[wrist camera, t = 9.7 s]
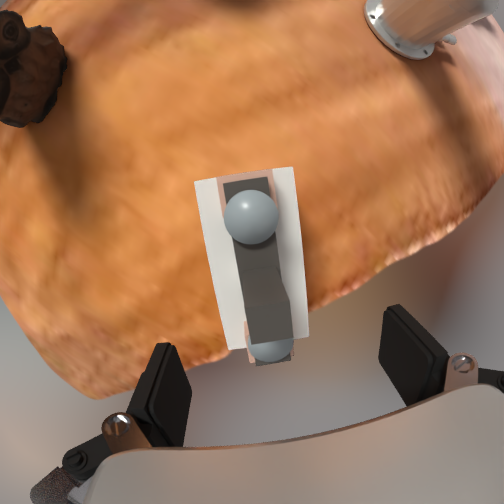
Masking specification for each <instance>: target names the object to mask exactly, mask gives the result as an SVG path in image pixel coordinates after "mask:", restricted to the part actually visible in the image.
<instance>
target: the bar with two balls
mask: <svg viewBox="0 0 504 504" xmlns="http://www.w3.org/2000/svg"><path fill="white" fill-rule="evenodd" d="M223 188H224V194H225V200H226V208H225V211H224V224H225V227H226V229H227V231H228V233H229V234H230V235H231V236H232V240H233V246H234V252H235V257H236V263H237V268H238V274H239V279H240V285H241V290H242V295H243V301H244V309H245V314H246V319H247V325H248V330H249V336H248V349H249V352H250V353H251V355H252V356H253V357H254V358H255V363H256V366H260V365H267V364H272V363H279V362H284V361H290V360H291V356H290V351H291V350H292V348H293V342H294V341H293V338H294V336H293V326H292V316H291V307H290V300H289V297H288V295H287V292H286V290H285V287H284V285H283V283H282V278H281V270H280V262H279V254H278V247H277V239H276V232H275V230H276V228H277V225H278V220H279V214H278V209H277V207H276V205H275V203H274V201H273V200H272V199H271V197H270V190H269V184H268V177H267V176H265V177H258V178H252V179H245V180H239V181H233V182H227V183H223Z"/></svg>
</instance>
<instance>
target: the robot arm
mask: <svg viewBox="0 0 504 504" xmlns="http://www.w3.org/2000/svg"><path fill="white" fill-rule="evenodd" d="M498 3H499V0H367V1H366V3H365V5H364V15H365V18H366V21H367V23H368V25H369V27H370V28H371V29H372V31H373V32H374V34H375V35H376V36H377V37H378V38H379V39H380V40H381V41H382V42H383V43H384V44H385V45H386V46H388V47H389V48H390V49H391V50H393V51H395V52H396V53H398V54H400V55H402V56H404V57H406V58H409V59H414V60H421V59H424V58H427V57H428V56H430V55H431V54H432V53H433V50H434V46H435V42H437V41H439V42H442V41H444V42H446V43H449V44H451V45H455V44H456V37H455V36H453V35H451V34H450V33H452V32H454V31H456V30H458V29H460V28H462V27H465V26H467V25H469V24H471V23H473V22H475V21H478V20H480V19H482V18H485V17H487V16H489V15H491V14H493V13H494V12H495V11H496V9H497V7H498ZM447 353H448V352H447V351H446V350H445V349H444V348H443V347H442V346H441V345H440V344H439V343H438V342H437V341H436V340H435V338H434V337H433V336H432V335H431V334H430V333H429V332H427V330H426V329H425V328H423V326H422V325H420V323H419V322H418V321H417V320H415V318H413V316H412V315H410V314H409V313H408V312H407V311H406V310H405V309H404V308H403V307H402V306H401V305H400V304H396V305H393V306H389V307H387V310H386V311H384V315H383V324H382V334H381V341H380V349H379V356H378V358H379V362H380V364H381V366H382V367H383V369H384V370H385V372H386V374H387V375H388V376H389V378H390V380H391V382H392V383H393V385H394V386H395V388H396V389H397V391H398V393H399V394H400V396H401V398H402V399H403V401H404V402H405V404H406V406H407V407H405V408H402V409H399V410H397V411H394V412H391V413H388V414H386V415H383V416H380V417H377V418H374V419H370V420H367V421H364V422H360V423H357V424H354V425H350V426H346V427H342V428H338V429H335V430H330V431H326V432H322V433H318V434H313V435H307V436H302V437H297V438H291V439H285V440H278V441H272V442H263V443H254V444H244V445H231V446H211V447H183V443H184V436H185V431H186V425H187V419H188V414H189V407H190V402H191V397H192V390H191V386H190V384H189V381H188V379H187V376H186V374H185V371H184V368H183V366H182V363H181V361H180V358H179V355H178V352H177V350H176V347H175V346H174V345H171V344H170V343H169V342H167V343H157V344H156V346H155V348H154V351H153V353H152V355H151V358H150V360H149V363H148V365H147V367H146V370H145V372H143V373H142V374H141V377H140V379H139V381H138V384H137V386H136V389H135V391H134V393H133V396H132V398H131V401H130V404H129V406H128V408H127V411H126V413H123V412H119V413H114V414H112V415H110V416H108V417H107V418H106V419H105V420H104V422H103V424H102V434H100V435H99V436H97V437H94V438H93V439H91V440H89V441H87V442H85V443H83V444H81V445H79V446H77V447H75V448H73V449H71V450H69V451H67V453H66V454H65V455H64V457H63V460H62V465H63V466H62V467H61V468H59V467H56V468H55V469H54V470H53V471H51V472H50V473H49V474H48V475H47V476H46V477H44V478H43V479H42V480H41V481H40V482H39V483H37V484H36V485H35V486H34V487H33V488H32V489H31V492H30V498H31V501H32V502H33V503H34V504H504V371H496V370H490V369H482V368H478V363H477V361H476V359H475V358H474V357H473V356H472V355H469V354H467V353H456V354H454V355H452V356H451V357H450V356H449V355H448V354H447Z"/></svg>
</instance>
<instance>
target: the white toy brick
mask: <svg viewBox="0 0 504 504" xmlns="http://www.w3.org/2000/svg"><path fill="white" fill-rule="evenodd" d="M265 176H267V177H268V184H269V190H270V197H271V199H272V200H273V201H274V203H275V205H276V207H277V209H278V214H279V220H278V225H277V228H276V230H275V232H276V239H277V247H278V254H279V262H280V270H281V278H282V283H283V285H284V287H285V290H286V292H287V295H288V297H289V300H290V307H291V316H292V326H293V336H294V338H293V340H295V339H301V338H305V337H309V324H308V308H307V294H306V282H305V270H304V259H303V249H302V239H301V230H300V221H299V212H298V204H297V196H296V188H295V180H294V173H293V167H285V168H276V169H266V170H259V171H252V172H245V173H239V174H232V175H226V176H220V177H216V178H210V179H205V180H200V181H194V184H195V190H196V196H197V202H198V207H199V213H200V218H201V224H202V229H203V234H204V240H205V245H206V250H207V255H208V260H209V265H210V270H211V274H212V279H213V284H214V289H215V293H216V298H217V302H218V307H219V311H220V316H221V320H222V324H223V329H224V333H225V337H226V341H227V345H228V349H229V350H231V349H239V348H246V347H247V351H248V356H249V360H250V363H252V362H255V358H254V357H253V356H252V355H251V353H250V352H249V349H248V336H249V330H248V325H247V319H246V314H245V309H244V301H243V295H242V290H241V285H240V279H239V274H238V268H237V263H236V257H235V252H234V246H233V240H232V236H231V235H230V234H229V233H228V231H227V229H226V227H225V224H224V211H225V208H226V200H225V194H224V188H223V183H227V182H233V181H239V180H245V179H252V178H258V177H265ZM290 356H294V352H293V348H292V350H291V351H290Z"/></svg>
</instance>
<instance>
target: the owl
mask: <svg viewBox="0 0 504 504" xmlns="http://www.w3.org/2000/svg"><path fill="white" fill-rule="evenodd" d="M66 69H67V58H66V57H65V55H64V46H62V45H61V44H60V43H59V40H58V38H57V37H56V36H55V34H54V33H53V32H52V28H51V27H41V25H39V26H35V27H31V28H27V27H25V24H24V22H23V18H22V16H21V15H19V14H18V13H16V12H14V11H8V10H4V11H0V121H1V122H3V123H5V124H7V125H10V126H14V127H19V128H21V127H24V126H26V125H27V123H28V122H30V121H32V122H36V123H40V122H42V121H43V120H44V118H45V116H46V115H47V114H48V113H49V111H50V110H51V109H52V107H53V106H54V105H55V103H56V101H57V89H58V88H59V87H60V86H61V85H62V76H63V72H65V70H66Z"/></svg>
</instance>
